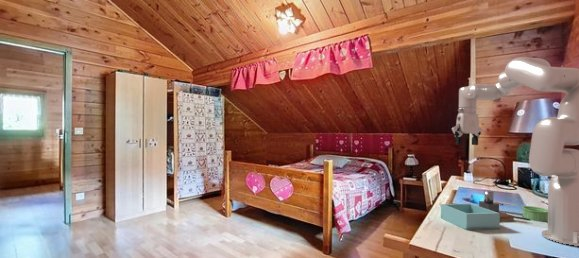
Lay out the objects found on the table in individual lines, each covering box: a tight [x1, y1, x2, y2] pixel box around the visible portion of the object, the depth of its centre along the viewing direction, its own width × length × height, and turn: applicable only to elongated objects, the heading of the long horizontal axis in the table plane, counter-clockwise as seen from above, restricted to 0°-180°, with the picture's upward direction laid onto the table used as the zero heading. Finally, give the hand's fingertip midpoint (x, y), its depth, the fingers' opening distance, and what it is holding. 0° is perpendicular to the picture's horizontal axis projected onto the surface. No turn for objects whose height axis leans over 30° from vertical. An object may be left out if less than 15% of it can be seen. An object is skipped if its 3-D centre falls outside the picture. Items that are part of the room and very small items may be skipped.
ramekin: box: [521, 205, 548, 223], centre depth 117 cm, size 9×9×4 cm
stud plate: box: [499, 210, 515, 222], centre depth 119 cm, size 12×12×5 cm
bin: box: [440, 203, 501, 231], centre depth 110 cm, size 14×14×6 cm
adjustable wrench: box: [493, 199, 522, 206], centre depth 136 cm, size 25×6×2 cm, turn 40°
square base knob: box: [478, 189, 500, 213], centre depth 119 cm, size 5×5×9 cm
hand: (466, 144), depth 138 cm, fingers open, 9 cm apart
